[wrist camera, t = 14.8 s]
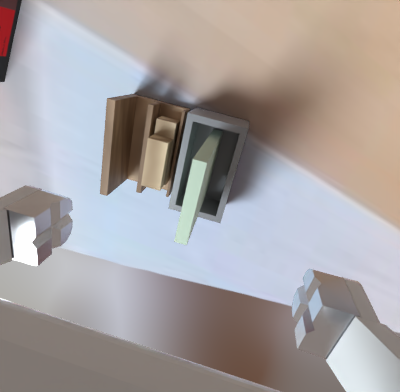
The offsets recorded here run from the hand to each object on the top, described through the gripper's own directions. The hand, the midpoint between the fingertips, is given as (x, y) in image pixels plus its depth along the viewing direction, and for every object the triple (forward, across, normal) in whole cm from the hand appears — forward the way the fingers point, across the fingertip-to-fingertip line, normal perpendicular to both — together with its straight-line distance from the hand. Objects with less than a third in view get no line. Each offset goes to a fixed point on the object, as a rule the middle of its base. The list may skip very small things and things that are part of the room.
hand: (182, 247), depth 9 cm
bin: (+39, +3, +10) cm, 41 cm away
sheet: (+38, +3, +10) cm, 40 cm away
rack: (+39, +14, +10) cm, 43 cm away
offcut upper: (+35, +11, +10) cm, 38 cm away
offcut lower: (+38, +11, +10) cm, 40 cm away
